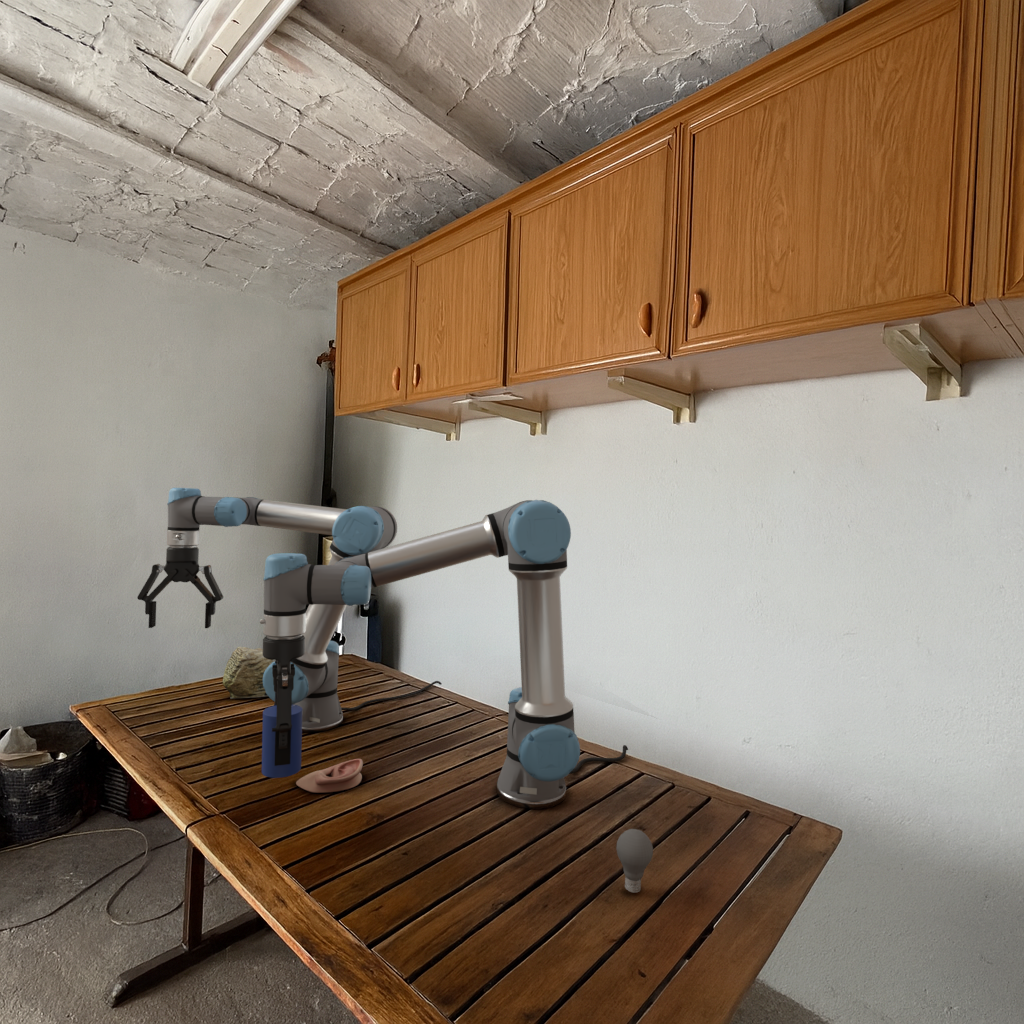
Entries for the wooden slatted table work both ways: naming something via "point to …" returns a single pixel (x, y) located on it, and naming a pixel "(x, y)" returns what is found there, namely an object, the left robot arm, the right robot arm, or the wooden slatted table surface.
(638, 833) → the light bulb
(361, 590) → the right robot arm
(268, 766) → the blue cylinder
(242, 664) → the fossil
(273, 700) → the left robot arm
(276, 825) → the wooden slatted table surface
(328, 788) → the anatomical model
